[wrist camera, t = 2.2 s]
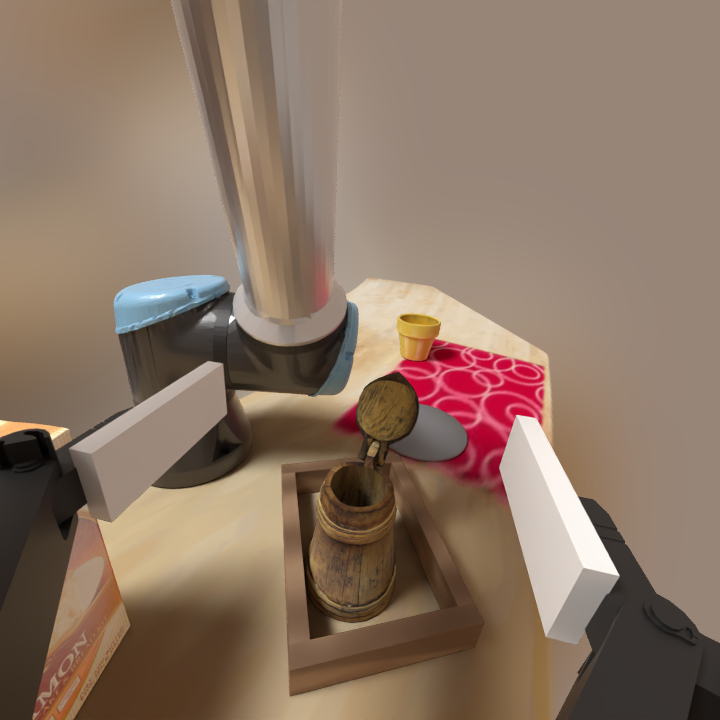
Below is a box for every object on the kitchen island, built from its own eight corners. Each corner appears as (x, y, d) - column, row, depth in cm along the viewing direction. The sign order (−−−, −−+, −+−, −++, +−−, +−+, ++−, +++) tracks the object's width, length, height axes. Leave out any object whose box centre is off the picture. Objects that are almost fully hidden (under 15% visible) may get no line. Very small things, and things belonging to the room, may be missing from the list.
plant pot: (389, 347, 88) (393, 311, 84) (426, 348, 90) (432, 313, 86) (398, 364, 79) (404, 324, 75) (439, 365, 80) (447, 326, 76)
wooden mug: (415, 517, 39) (444, 382, 32) (378, 642, 27) (411, 473, 20) (345, 491, 42) (358, 360, 34) (285, 594, 30) (284, 430, 23)
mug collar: (281, 486, 41) (281, 464, 40) (395, 474, 45) (398, 453, 44) (289, 696, 24) (289, 670, 22) (474, 647, 28) (484, 622, 26)
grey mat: (364, 408, 60) (365, 405, 59) (440, 403, 63) (441, 401, 63) (391, 466, 46) (392, 463, 46) (485, 456, 50) (486, 453, 50)
